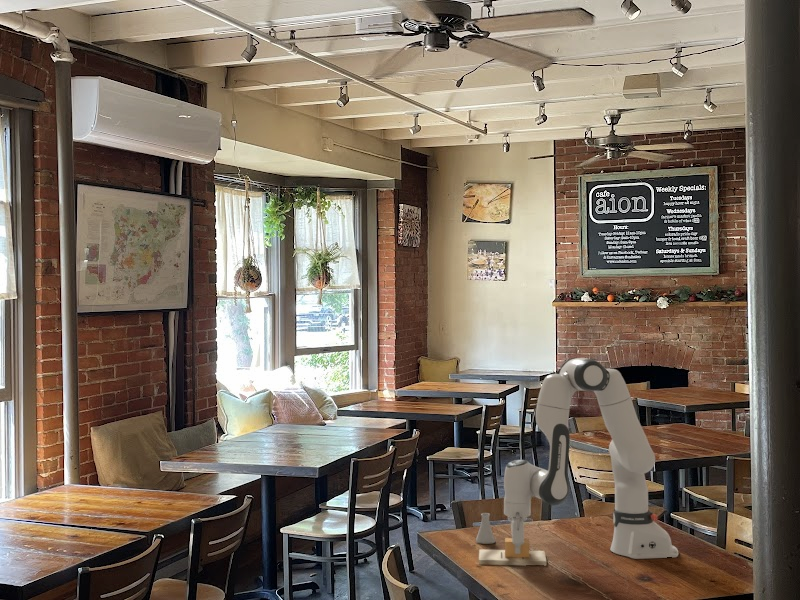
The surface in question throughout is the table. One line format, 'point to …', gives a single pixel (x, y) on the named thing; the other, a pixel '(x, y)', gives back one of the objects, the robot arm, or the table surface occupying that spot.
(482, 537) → the flask
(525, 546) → the block
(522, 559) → the birch board
